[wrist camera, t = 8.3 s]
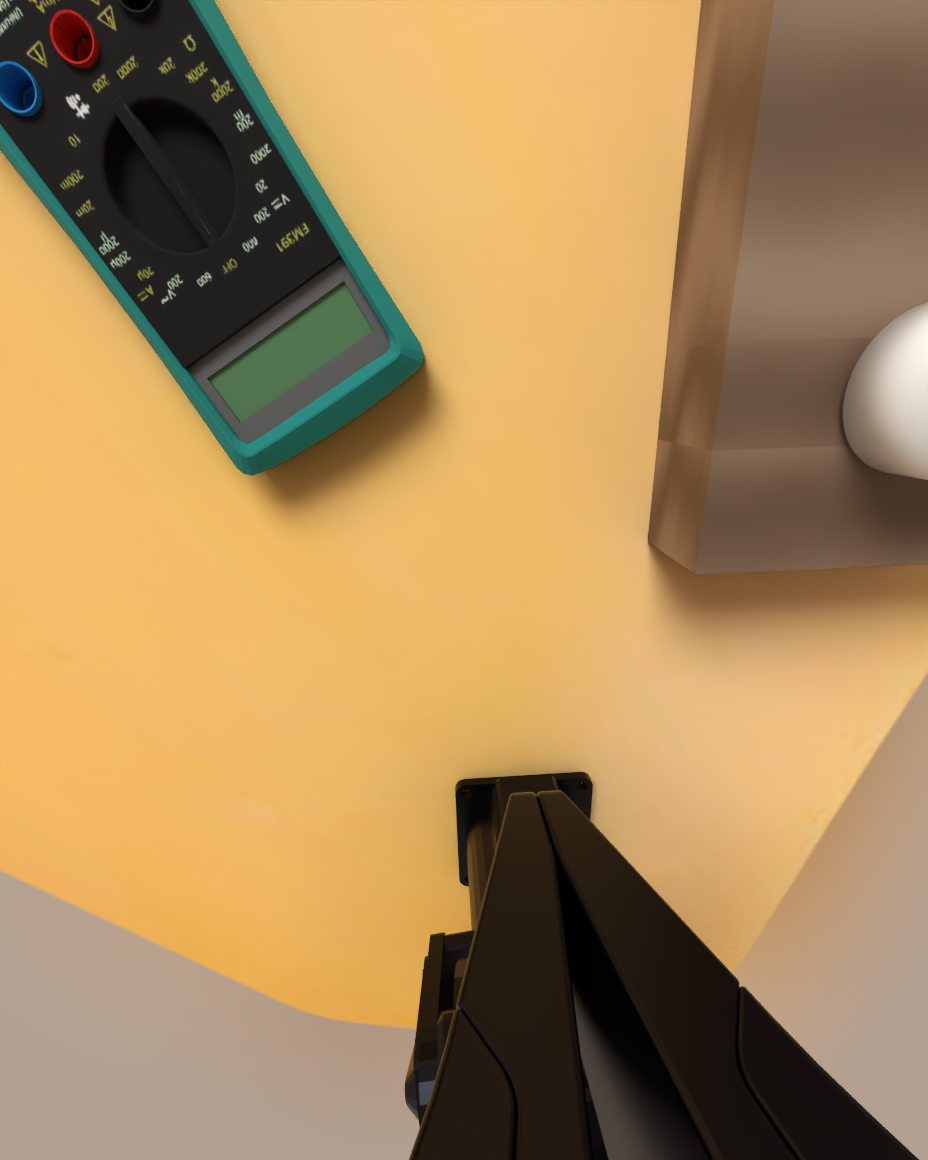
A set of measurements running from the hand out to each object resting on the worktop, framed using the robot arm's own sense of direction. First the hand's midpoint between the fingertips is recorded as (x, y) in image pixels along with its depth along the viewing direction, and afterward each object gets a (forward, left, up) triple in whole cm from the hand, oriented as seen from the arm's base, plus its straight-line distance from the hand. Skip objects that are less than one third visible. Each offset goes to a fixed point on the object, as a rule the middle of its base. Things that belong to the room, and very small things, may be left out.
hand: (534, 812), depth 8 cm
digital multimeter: (+12, +8, -14) cm, 20 cm away
